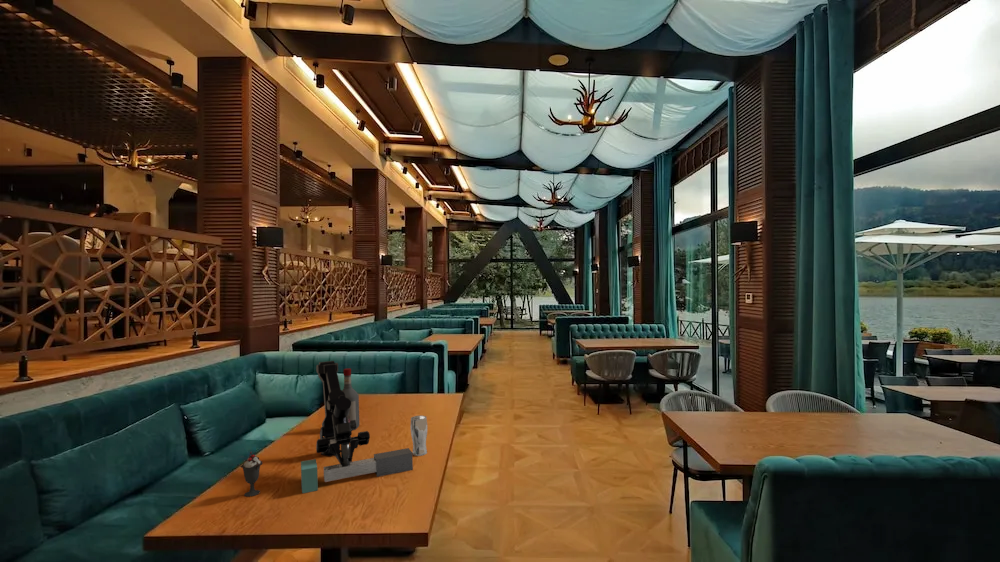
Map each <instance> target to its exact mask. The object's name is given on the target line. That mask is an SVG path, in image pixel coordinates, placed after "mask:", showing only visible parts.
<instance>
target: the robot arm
mask: <svg viewBox="0 0 1000 562" xmlns="http://www.w3.org/2000/svg"><path fill="white" fill-rule="evenodd" d="M315 366H316V367H315V369H316V370H315V371H316V373H317V375H318V379H319V380H320V381H321V382H322V388H323V403H324V415H325V416H324V419H323V421H322V423H321V427H320V430H319V431H320V432H319V438H318V439H317V440H316V445H315V447H316V448H315V449H316V450H315V451H316V453H317V454H320V455H322V456H327V457H333V456H334V457H335V458H336V460H337V461H338V462H339V463H338V464H342V458H341V444H343V443H350V463H351V462H353V456H354V455H353V454H354V452H355V450H356V449H358V448H359V446H365V445H366V446H367V445H368V444H369V442H370V438H371V434H370V432H369V431H368V430H366V431H360V432H359V431H358V433H357V435H356V436H352V433H353V431H354V430H353V429H356V420H351V421H350V423H349V421H348V415H349V412H350V407H351V401H350V400H349V399H348V398H346V396H345V393H344V392H343V391H342V390H343V389H342V390H341V385H340V382H339V376H338V373H339V363H338V362H335V360H329V361H328V360H327V361H319V362H318V364H316V365H315ZM356 430H357V429H356Z"/></svg>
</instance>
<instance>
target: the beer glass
mask: <svg viewBox="0 0 1000 562" xmlns="http://www.w3.org/2000/svg"><path fill="white" fill-rule="evenodd" d="M427 418H428V417H427V416H426V415H414V416H412V417H410V435H411V440H412V456H415V457H421V456H424V455H427V454H428V450H427V436H428V420H427Z"/></svg>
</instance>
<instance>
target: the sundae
mask: <svg viewBox="0 0 1000 562" xmlns="http://www.w3.org/2000/svg"><path fill="white" fill-rule="evenodd" d="M252 452H253V451H250V452H249V456H248V457H247V460H246V461H245V462H244V463H243V464H242V465H241V466H240V468H241V469H242V471H243V476H244V480H245V482H246V483H247V484H249V490H248V491H247V492H245V493H244V494H243V496H244V497H247V498H248V497H249V498H250V496H251V497H254V496H255V497H256V496H257V495H259V494H260V493H261V490H259V489H255V484H256V483H257V481H258V480H259V477H260V469H261V466H262V465H263V460H260V457H258V456H257V455H255V454H252Z"/></svg>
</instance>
